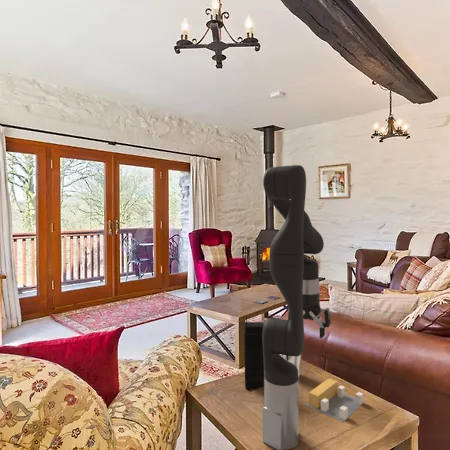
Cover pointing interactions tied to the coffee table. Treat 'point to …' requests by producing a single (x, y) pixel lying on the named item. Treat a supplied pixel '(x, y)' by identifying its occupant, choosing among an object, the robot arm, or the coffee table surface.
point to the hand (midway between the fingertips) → (309, 335)
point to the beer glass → (293, 361)
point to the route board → (340, 405)
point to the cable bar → (323, 392)
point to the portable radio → (253, 355)
